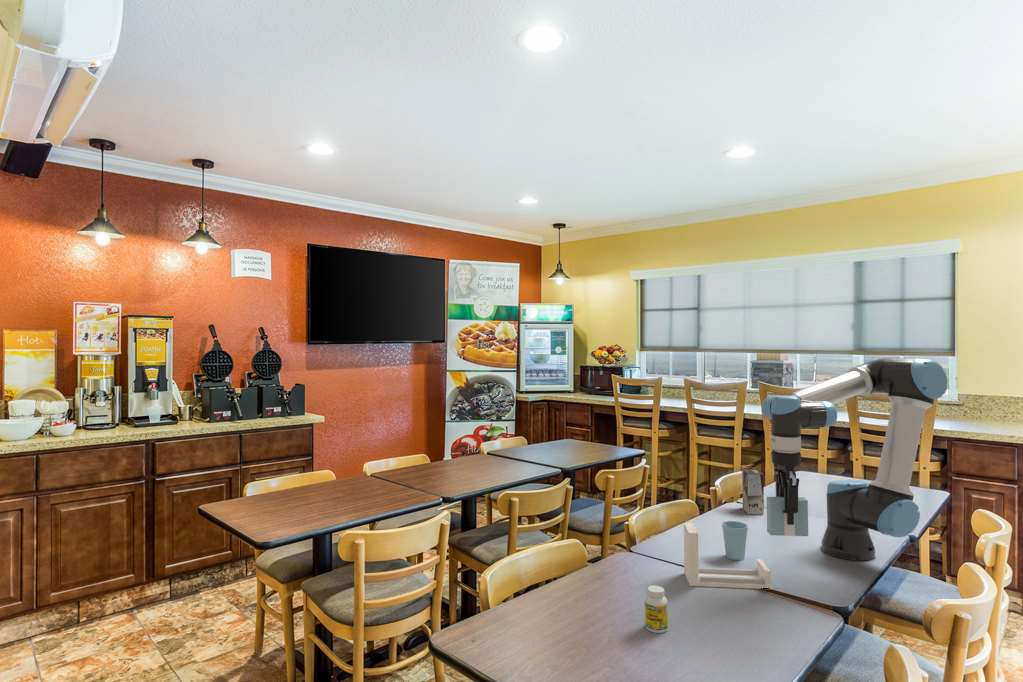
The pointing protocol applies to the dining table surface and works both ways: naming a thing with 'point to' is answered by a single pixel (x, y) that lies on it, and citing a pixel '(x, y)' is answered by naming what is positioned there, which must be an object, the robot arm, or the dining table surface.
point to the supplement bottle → (656, 610)
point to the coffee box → (753, 491)
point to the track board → (720, 569)
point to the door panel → (777, 516)
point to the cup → (735, 539)
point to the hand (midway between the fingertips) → (786, 532)
